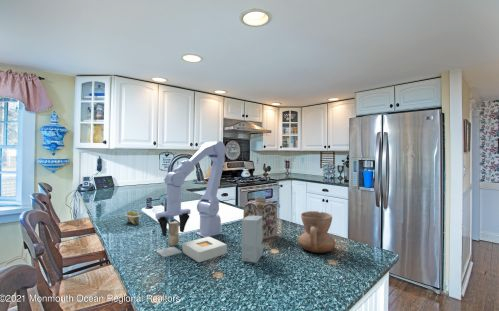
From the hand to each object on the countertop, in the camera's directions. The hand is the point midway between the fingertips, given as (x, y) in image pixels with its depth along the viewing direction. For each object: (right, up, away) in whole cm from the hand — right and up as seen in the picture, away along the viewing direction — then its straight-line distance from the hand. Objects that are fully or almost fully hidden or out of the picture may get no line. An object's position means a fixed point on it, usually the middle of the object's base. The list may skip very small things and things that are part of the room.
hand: (173, 233), depth 102 cm
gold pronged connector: (-32, -5, +30) cm, 44 cm away
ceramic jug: (+59, -6, -3) cm, 59 cm away
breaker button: (+14, -4, -8) cm, 17 cm away
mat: (+1, -5, -8) cm, 10 cm away
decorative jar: (+37, -5, +13) cm, 39 cm away
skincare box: (+33, -5, -12) cm, 35 cm away
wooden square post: (0, -5, 0) cm, 5 cm away
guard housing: (+14, -5, -8) cm, 17 cm away
